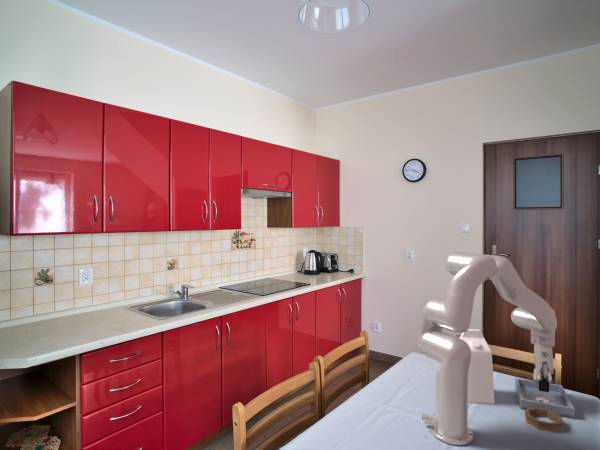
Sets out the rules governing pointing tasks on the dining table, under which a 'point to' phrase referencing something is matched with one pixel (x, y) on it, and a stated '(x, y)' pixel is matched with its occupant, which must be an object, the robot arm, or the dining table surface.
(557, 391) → the tray
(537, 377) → the wineglass
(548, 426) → the collar
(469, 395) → the milk
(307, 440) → the dining table surface
